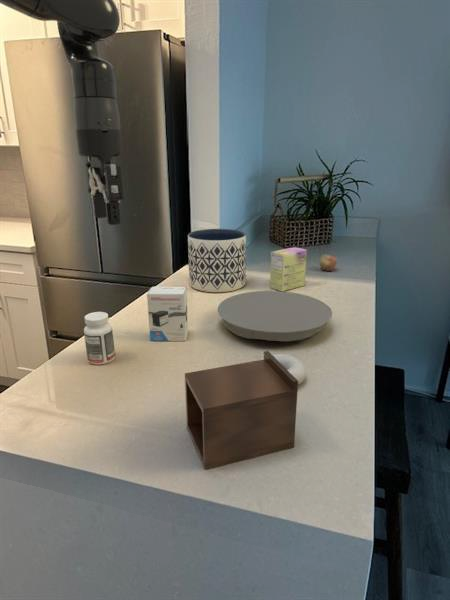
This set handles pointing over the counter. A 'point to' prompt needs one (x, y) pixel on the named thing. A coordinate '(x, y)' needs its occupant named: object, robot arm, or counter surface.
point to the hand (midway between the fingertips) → (107, 220)
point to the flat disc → (274, 315)
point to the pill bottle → (99, 338)
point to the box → (288, 268)
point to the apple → (328, 262)
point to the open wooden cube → (241, 410)
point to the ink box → (167, 313)
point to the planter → (217, 259)
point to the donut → (292, 366)
